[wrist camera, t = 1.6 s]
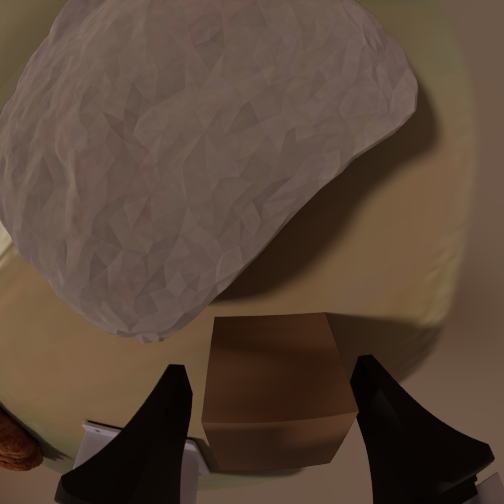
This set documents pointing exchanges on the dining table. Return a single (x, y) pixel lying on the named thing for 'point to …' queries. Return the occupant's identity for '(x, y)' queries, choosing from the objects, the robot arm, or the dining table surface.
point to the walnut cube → (275, 393)
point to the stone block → (185, 143)
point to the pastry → (17, 446)
